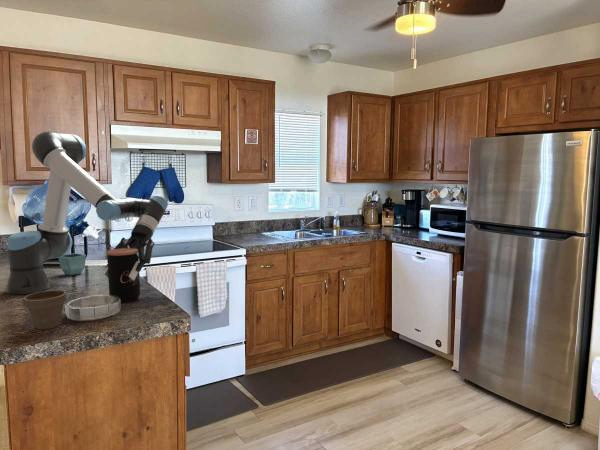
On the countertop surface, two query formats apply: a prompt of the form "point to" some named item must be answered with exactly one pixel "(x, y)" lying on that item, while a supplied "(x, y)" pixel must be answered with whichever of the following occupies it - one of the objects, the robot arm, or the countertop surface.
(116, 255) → the coffee jar
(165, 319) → the countertop surface
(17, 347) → the countertop surface
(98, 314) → the cup bracket
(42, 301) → the flower pot
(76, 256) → the flower pot
